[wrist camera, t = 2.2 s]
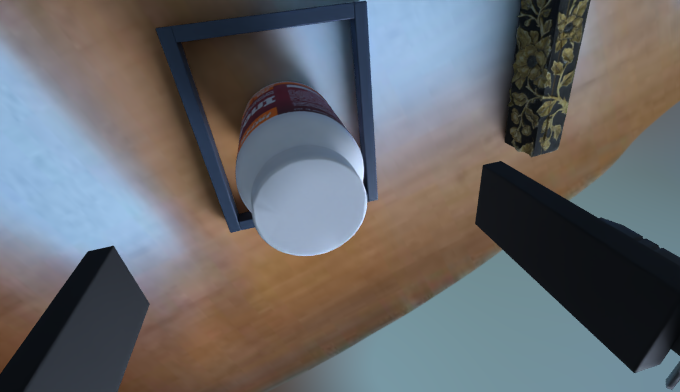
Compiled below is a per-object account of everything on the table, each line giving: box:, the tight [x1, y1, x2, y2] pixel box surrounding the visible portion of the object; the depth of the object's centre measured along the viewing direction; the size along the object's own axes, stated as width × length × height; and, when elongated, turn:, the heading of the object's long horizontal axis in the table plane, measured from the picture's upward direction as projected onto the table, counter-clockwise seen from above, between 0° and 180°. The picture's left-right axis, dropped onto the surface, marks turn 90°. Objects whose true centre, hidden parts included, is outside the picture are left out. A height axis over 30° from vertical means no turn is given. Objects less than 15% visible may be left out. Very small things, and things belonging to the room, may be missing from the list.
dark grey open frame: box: [156, 1, 378, 233], centre depth 21 cm, size 14×12×1 cm
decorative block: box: [505, 0, 590, 157], centre depth 21 cm, size 15×2×4 cm, turn 10°
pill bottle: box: [236, 81, 367, 256], centre depth 17 cm, size 6×6×11 cm
